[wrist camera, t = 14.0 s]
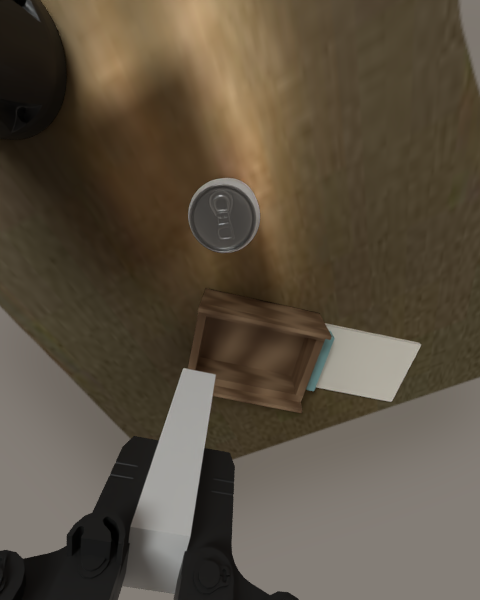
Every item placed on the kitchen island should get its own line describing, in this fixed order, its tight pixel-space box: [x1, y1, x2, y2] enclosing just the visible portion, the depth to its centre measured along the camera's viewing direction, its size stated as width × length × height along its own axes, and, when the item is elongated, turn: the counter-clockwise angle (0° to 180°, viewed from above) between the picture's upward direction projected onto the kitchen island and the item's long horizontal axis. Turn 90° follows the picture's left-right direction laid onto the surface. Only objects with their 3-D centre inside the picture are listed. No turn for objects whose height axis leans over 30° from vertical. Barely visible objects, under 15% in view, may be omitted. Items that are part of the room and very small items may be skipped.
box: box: [188, 288, 332, 413], centre depth 40 cm, size 16×12×6 cm
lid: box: [306, 323, 421, 402], centre depth 43 cm, size 15×10×3 cm
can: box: [188, 178, 260, 253], centre depth 30 cm, size 6×6×12 cm
